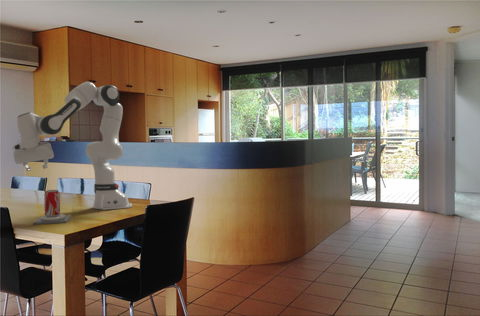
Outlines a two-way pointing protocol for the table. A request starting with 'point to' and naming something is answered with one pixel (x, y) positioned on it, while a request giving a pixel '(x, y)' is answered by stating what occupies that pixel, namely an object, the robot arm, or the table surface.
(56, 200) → the soda can
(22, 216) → the table surface
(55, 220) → the slate can stand
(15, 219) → the table surface
